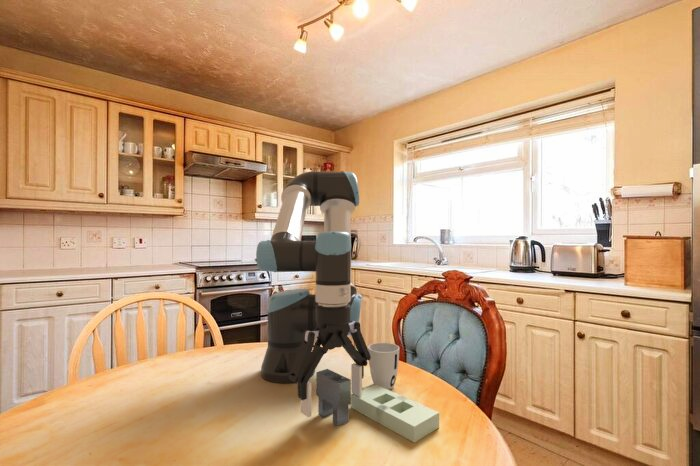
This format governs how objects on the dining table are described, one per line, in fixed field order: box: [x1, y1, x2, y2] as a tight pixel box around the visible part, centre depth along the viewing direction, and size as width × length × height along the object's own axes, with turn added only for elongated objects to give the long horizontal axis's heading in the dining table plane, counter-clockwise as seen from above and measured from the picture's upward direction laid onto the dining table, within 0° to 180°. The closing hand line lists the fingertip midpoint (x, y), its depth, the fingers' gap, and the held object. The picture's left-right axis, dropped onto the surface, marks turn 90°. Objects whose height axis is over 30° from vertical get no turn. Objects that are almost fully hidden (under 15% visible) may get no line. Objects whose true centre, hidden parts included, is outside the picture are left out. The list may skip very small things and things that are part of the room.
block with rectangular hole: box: [350, 384, 440, 443], centre depth 75 cm, size 18×8×3 cm, turn 41°
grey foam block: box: [315, 368, 352, 428], centre depth 74 cm, size 8×3×9 cm, turn 41°
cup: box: [367, 342, 400, 391], centre depth 90 cm, size 8×8×10 cm
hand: (332, 403), depth 74 cm, fingers open, 13 cm apart
